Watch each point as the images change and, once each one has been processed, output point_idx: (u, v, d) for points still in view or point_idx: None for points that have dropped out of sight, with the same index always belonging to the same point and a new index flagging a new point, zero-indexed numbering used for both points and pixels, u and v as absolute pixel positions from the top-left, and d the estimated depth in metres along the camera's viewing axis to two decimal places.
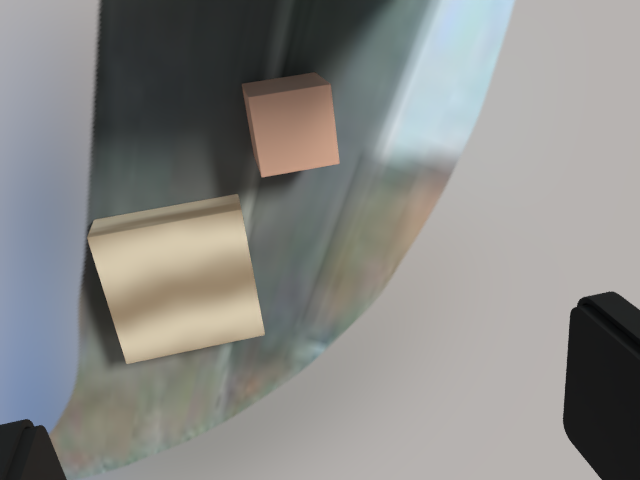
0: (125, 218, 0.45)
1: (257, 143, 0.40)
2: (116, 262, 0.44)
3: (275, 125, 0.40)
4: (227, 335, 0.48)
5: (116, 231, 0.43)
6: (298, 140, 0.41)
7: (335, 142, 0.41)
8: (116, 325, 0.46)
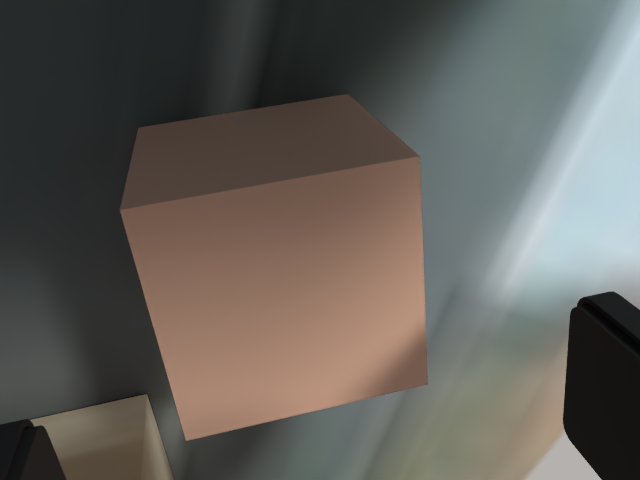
0: None
1: (165, 351, 0.12)
2: None
3: (225, 294, 0.12)
4: None
5: None
6: (303, 333, 0.12)
7: (420, 330, 0.13)
8: None
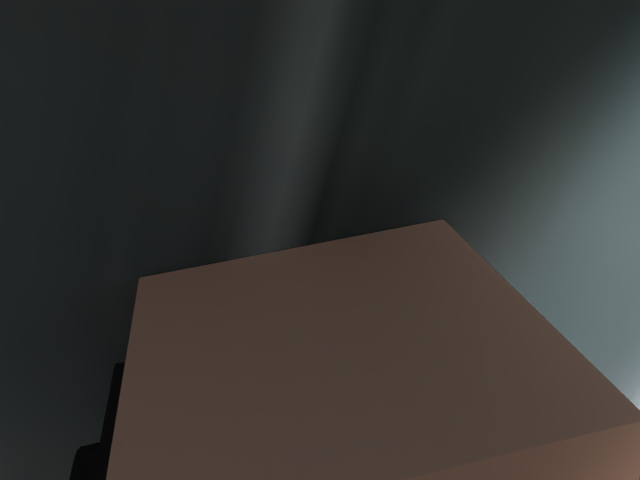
0: None
1: None
2: None
3: None
4: None
5: None
6: None
7: None
8: None
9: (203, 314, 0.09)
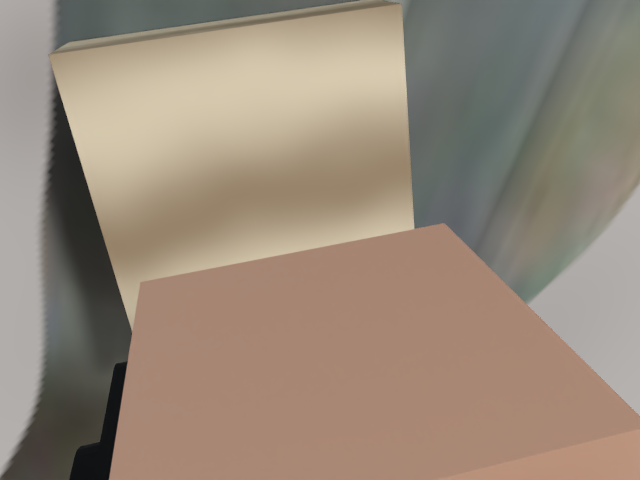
0: (137, 34, 0.21)
1: None
2: (119, 122, 0.19)
3: None
4: None
5: (118, 44, 0.18)
6: None
7: None
8: (118, 271, 0.21)
9: (204, 319, 0.09)
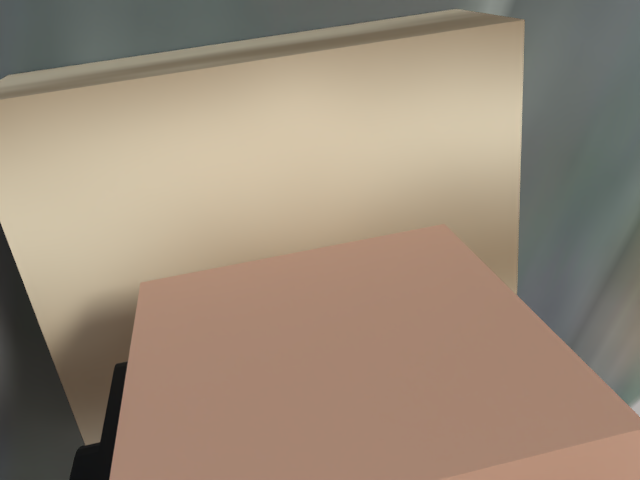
0: (110, 64, 0.13)
1: None
2: (77, 208, 0.12)
3: None
4: None
5: (73, 87, 0.11)
6: None
7: None
8: (82, 420, 0.14)
9: (204, 319, 0.09)
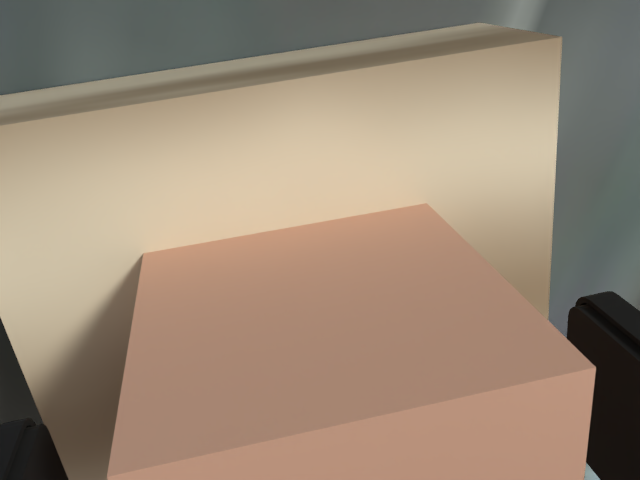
0: (103, 86, 0.12)
1: None
2: (65, 248, 0.11)
3: None
4: None
5: (59, 114, 0.10)
6: None
7: None
8: (71, 475, 0.13)
9: (203, 284, 0.10)
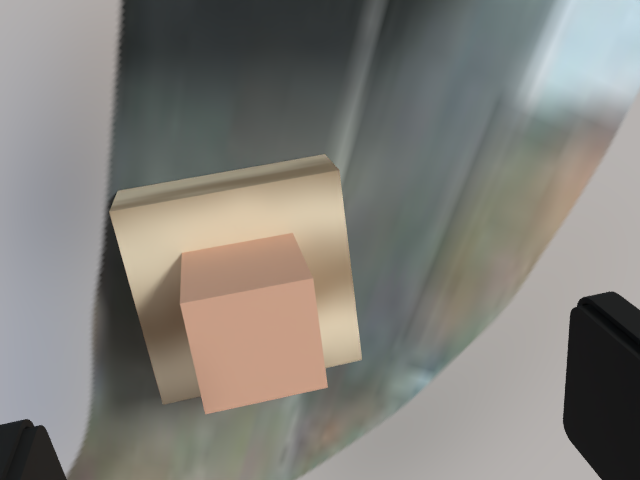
0: (164, 187, 0.31)
1: (197, 367, 0.25)
2: (153, 251, 0.29)
3: (225, 341, 0.25)
4: None
5: (153, 202, 0.28)
6: (262, 359, 0.26)
7: (321, 358, 0.27)
8: (149, 347, 0.31)
9: (204, 262, 0.28)
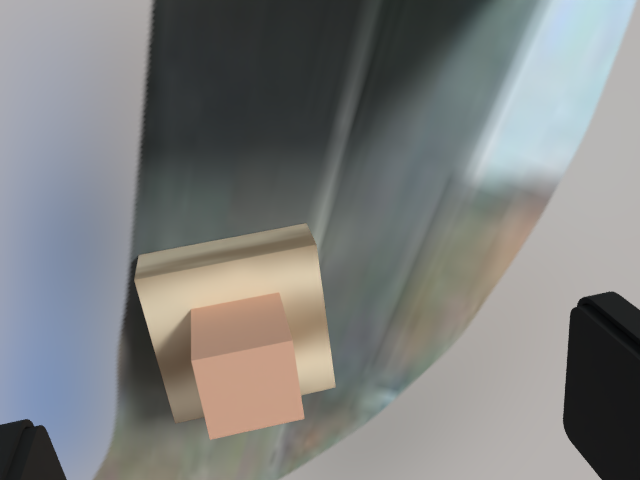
0: (176, 253, 0.38)
1: (203, 406, 0.33)
2: (168, 308, 0.37)
3: (225, 386, 0.33)
4: None
5: (169, 271, 0.36)
6: (254, 399, 0.34)
7: (299, 398, 0.34)
8: (165, 380, 0.39)
9: (209, 319, 0.36)
